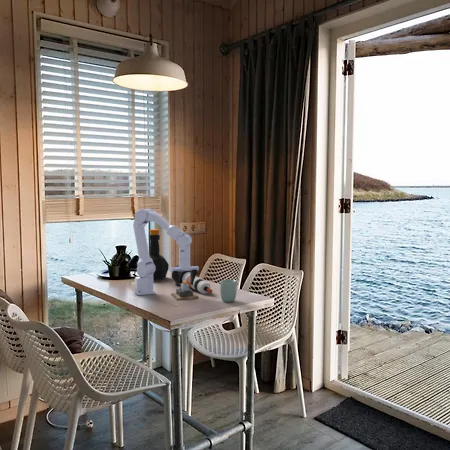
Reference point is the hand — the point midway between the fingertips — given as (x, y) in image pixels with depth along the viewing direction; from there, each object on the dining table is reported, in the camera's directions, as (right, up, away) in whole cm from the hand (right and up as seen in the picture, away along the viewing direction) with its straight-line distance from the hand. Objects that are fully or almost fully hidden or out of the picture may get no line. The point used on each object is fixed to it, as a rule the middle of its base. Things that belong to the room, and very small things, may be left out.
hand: (184, 285), depth 223 cm
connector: (0, -5, 0) cm, 5 cm away
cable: (+4, -5, +17) cm, 18 cm away
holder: (0, -6, 0) cm, 6 cm away
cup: (+22, -7, -8) cm, 24 cm away
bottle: (-22, -2, +43) cm, 49 cm away
